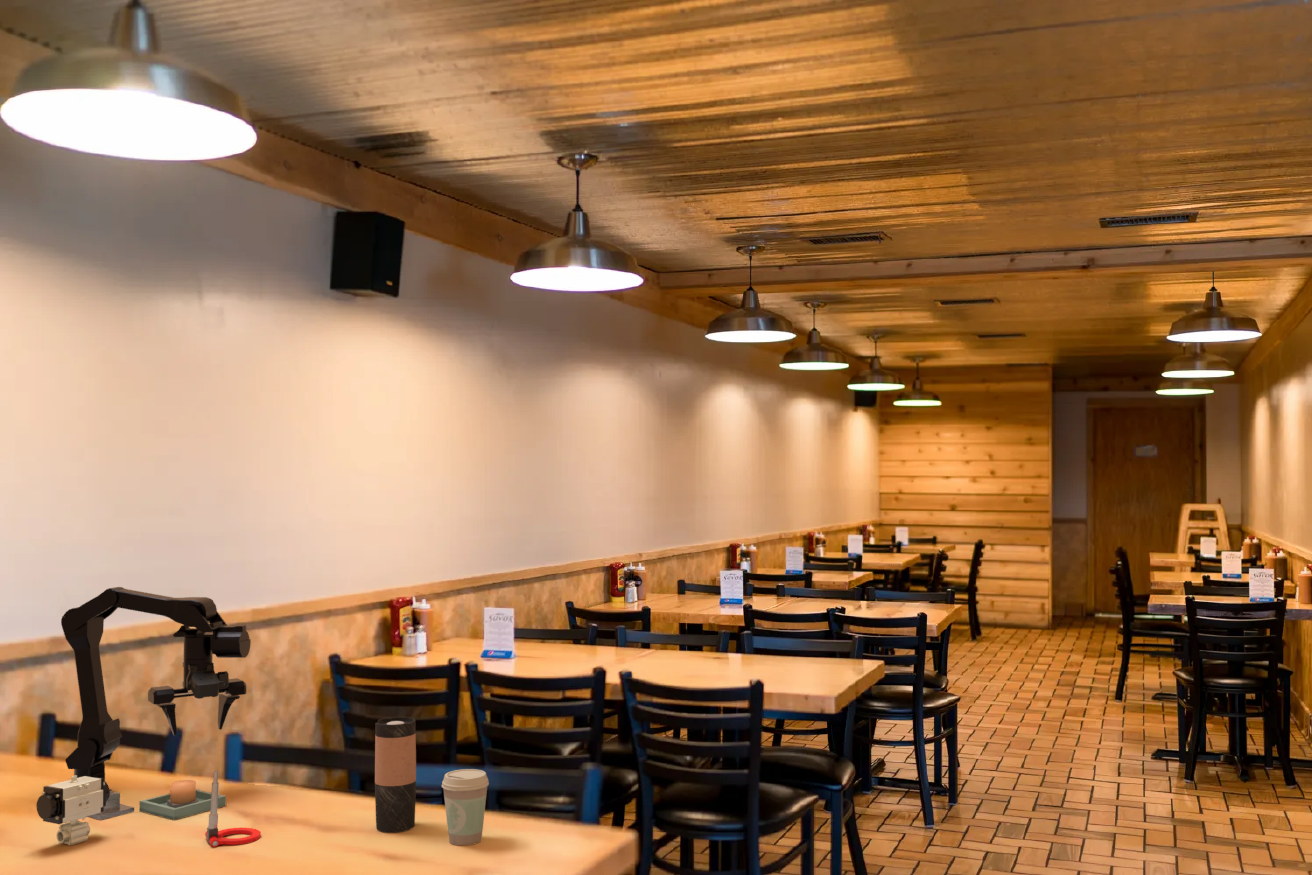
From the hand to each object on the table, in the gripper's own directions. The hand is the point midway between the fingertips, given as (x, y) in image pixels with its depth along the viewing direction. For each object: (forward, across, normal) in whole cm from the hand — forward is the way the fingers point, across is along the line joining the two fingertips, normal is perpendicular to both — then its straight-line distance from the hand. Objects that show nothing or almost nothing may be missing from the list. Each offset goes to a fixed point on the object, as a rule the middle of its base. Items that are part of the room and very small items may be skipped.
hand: (197, 732), depth 242 cm
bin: (+13, -5, -9) cm, 17 cm away
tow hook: (+13, -3, -36) cm, 39 cm away
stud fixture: (+13, -18, -3) cm, 22 cm away
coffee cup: (+13, +30, -63) cm, 72 cm away
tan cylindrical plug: (+12, -5, -9) cm, 16 cm away
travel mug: (+13, +24, -48) cm, 55 cm away
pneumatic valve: (+13, -27, -20) cm, 36 cm away
